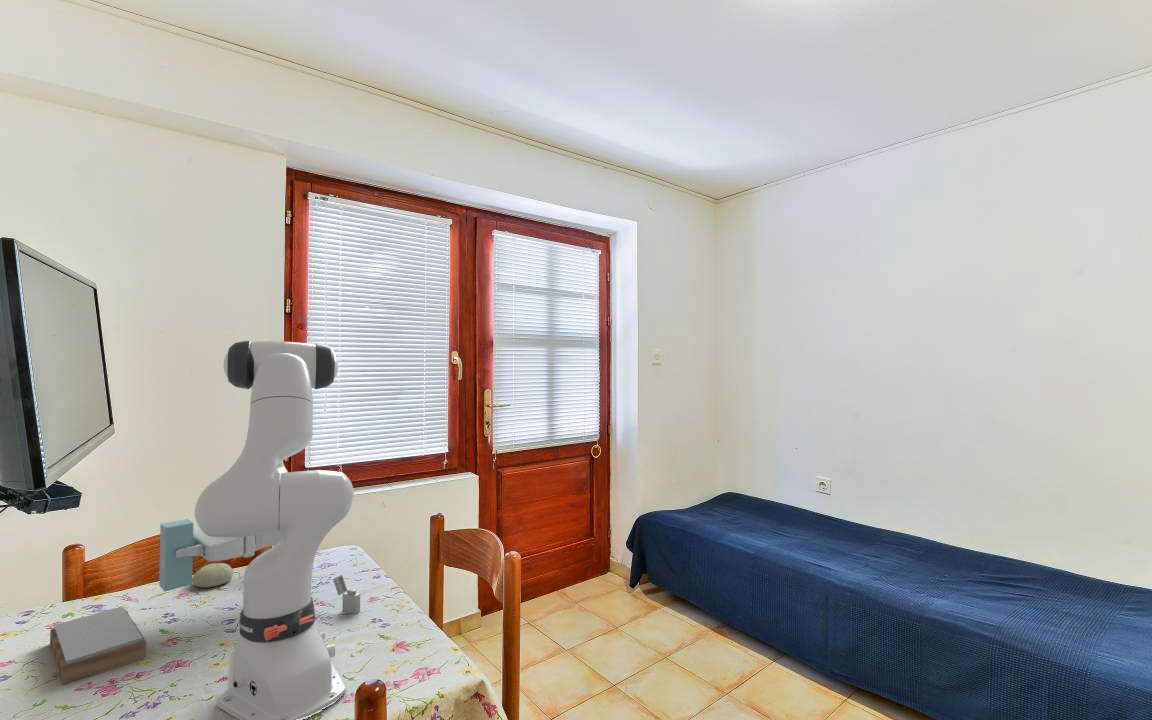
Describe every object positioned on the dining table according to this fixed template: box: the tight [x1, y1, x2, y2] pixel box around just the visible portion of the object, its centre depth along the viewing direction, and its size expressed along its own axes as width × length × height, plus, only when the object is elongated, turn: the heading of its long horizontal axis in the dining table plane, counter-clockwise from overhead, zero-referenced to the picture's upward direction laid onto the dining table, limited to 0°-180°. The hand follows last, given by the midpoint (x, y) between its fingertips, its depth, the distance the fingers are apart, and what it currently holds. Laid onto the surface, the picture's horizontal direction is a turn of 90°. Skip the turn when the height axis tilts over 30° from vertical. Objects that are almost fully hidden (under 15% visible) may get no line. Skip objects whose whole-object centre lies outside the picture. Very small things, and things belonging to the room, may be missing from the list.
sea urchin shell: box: [192, 562, 234, 589], centre depth 139 cm, size 9×8×8 cm
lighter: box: [332, 575, 361, 615], centre depth 123 cm, size 7×2×8 cm, turn 71°
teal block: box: [158, 518, 194, 593], centre depth 115 cm, size 5×5×14 cm
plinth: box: [49, 606, 147, 686], centre depth 105 cm, size 22×12×4 cm, turn 50°
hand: (171, 550), depth 115 cm, fingers closed on teal block, 5 cm apart
